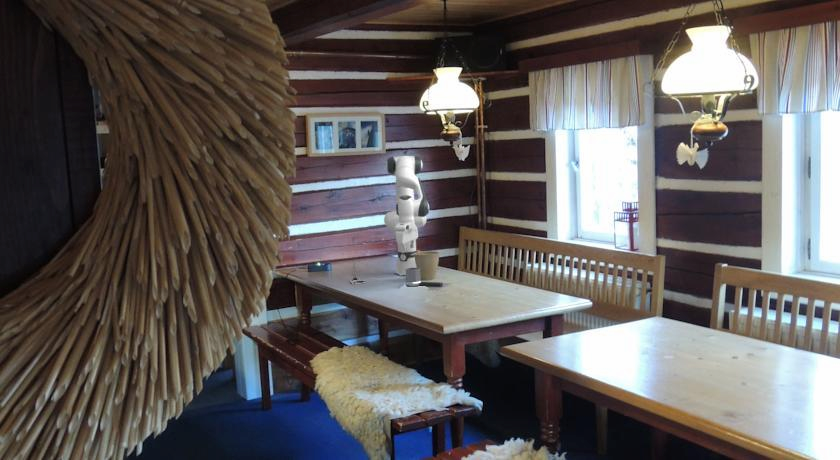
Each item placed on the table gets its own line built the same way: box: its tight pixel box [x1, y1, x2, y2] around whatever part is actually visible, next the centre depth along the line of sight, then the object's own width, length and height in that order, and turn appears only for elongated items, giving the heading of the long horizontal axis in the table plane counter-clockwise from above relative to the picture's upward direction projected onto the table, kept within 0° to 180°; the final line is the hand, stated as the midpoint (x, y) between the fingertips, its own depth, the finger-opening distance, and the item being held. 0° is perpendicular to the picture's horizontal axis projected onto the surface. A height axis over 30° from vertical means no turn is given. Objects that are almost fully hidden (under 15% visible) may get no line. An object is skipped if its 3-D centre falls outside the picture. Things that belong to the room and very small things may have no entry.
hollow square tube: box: [405, 268, 421, 283], centre depth 439 cm, size 6×6×7 cm
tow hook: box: [352, 260, 358, 280], centre depth 460 cm, size 8×13×9 cm
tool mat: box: [427, 282, 453, 291], centre depth 437 cm, size 20×26×1 cm
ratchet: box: [405, 280, 444, 287], centre depth 436 cm, size 22×9×6 cm, turn 63°
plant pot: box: [414, 250, 440, 281], centre depth 457 cm, size 15×15×16 cm
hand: (408, 249), depth 440 cm, fingers open, 8 cm apart
